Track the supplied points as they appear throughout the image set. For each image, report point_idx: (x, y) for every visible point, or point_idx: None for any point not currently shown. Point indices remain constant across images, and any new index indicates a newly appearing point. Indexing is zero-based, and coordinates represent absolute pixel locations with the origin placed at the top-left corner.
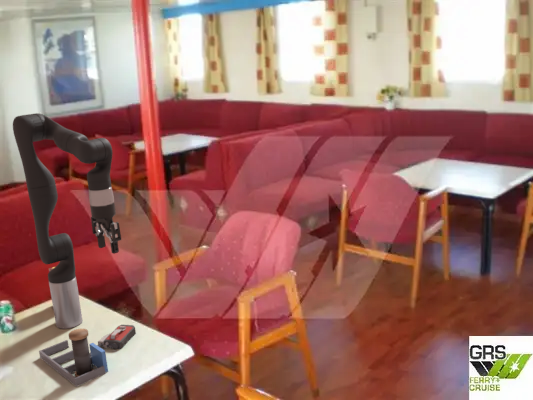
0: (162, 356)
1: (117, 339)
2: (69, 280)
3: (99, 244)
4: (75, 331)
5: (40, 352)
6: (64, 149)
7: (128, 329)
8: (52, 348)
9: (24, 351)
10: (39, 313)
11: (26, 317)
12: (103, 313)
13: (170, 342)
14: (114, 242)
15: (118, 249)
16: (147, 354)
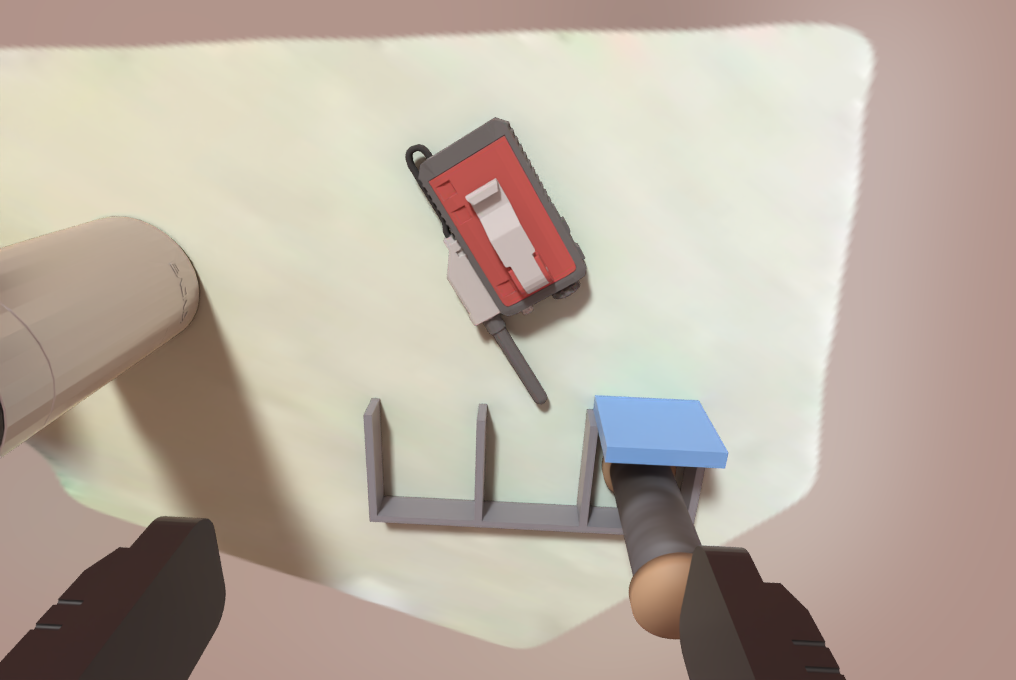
0: (821, 180)
1: (561, 273)
2: None
3: (186, 672)
4: (652, 603)
5: (384, 521)
6: None
7: (511, 171)
8: (377, 472)
9: (277, 512)
10: None
11: None
12: (136, 95)
13: (754, 56)
14: None
15: (807, 614)
16: (739, 215)
